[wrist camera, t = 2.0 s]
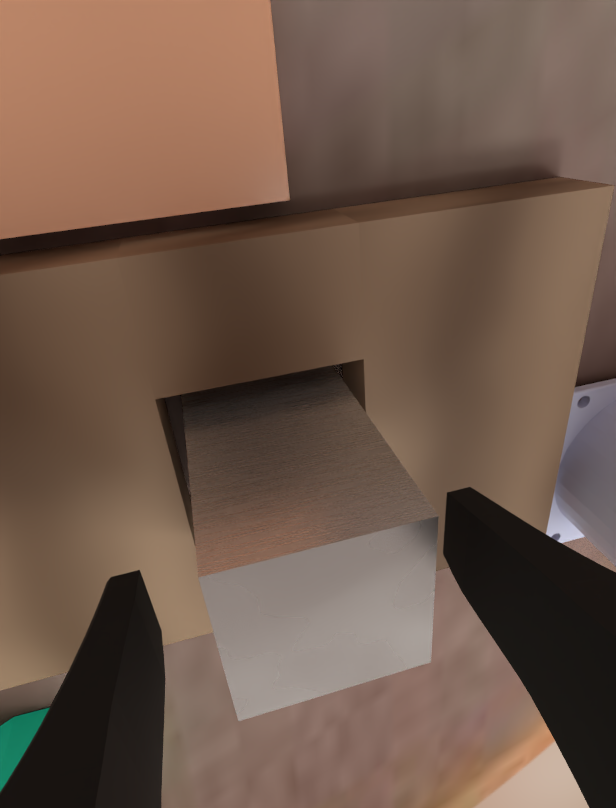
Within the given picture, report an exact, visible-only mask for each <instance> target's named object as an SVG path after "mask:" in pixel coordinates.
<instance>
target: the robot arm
mask: <svg viewBox="0 0 616 808" xmlns="http://www.w3.org/2000/svg"><path fill="white" fill-rule="evenodd" d="M580 399H581V400H580ZM579 400H580V401H579ZM578 401H579V402H578ZM582 537H586V538H587V539H588V540H589V541H590V542H591V543H592V544H593V545H594V546H595V547H596V548H597V549H598V550H599V551H600V552H601V553H602V554H603V555H604V556H605V557H606V558H608V559H609V560H610V561H611V562H612V563H613V564H614V565H615V566H616V378H615V379H610V380H606V381H601V382H597V383H592V384H587V385H583V386H578V387H575V389H574V394H573V399H572V404H571V409H570V414H569V419H568V425H567V430H566V435H565V440H564V445H563V450H562V455H561V460H560V465H559V470H558V475H557V481H556V486H555V491H554V496H553V501H552V506H551V511H550V516H549V521H548V526H547V531H546V534H545V533H543V532H541V531H540V530H538V529H536V528H535V527H533V526H531V525H530V524H528V523H527V522H525V521H523V520H522V519H520V518H519V517H517V516H516V515H514V514H512V513H511V512H509V511H508V510H506V509H504V508H503V507H501V506H500V505H498V504H497V503H495V502H494V501H492V500H490V499H489V498H487V497H486V496H484V495H483V494H481V493H479V492H478V491H476V490H475V489H473V488H471V487H467V488H463V489H459V490H455V491H451V492H447V496H446V512H445V528H444V544H443V555H444V557H445V559H446V561H447V563H448V565H449V567H450V569H451V571H452V573H453V575H454V577H455V579H456V581H457V583H458V585H459V587H460V589H461V591H462V592H463V594H464V596H465V597H466V599H467V600H468V602H469V603H470V605H471V606H472V608H473V609H474V611H475V612H476V614H477V615H478V617H479V618H480V620H481V621H482V623H483V624H484V626H485V627H486V629H487V630H488V632H489V633H490V635H491V636H492V638H493V639H494V641H495V642H496V644H497V645H498V646H499V648H500V649H501V651H502V652H503V654H504V655H505V657H506V658H507V660H508V661H509V663H510V664H511V666H512V667H513V669H514V670H515V672H516V673H517V675H518V676H519V678H520V679H521V681H522V683H523V684H524V686H525V687H526V689H527V691H528V692H529V694H530V696H531V697H532V699H533V701H534V703H535V705H536V707H537V708H538V710H539V712H540V714H541V716H542V717H543V719H544V721H545V723H546V725H547V727H548V728H549V730H550V732H551V734H552V736H553V737H554V739H555V741H556V743H557V745H558V747H559V749H560V751H561V753H562V755H563V757H564V758H565V760H566V762H567V764H568V766H569V768H570V770H571V772H572V774H573V776H574V778H575V779H576V782H577V783H578V785H579V788H580V790H581V792H582V794H583V796H584V798H585V800H586V802H587V804H588V806H589V808H616V573H615V572H613V571H611V570H609V569H607V568H605V567H604V566H602V565H600V564H598V563H596V562H594V561H592V560H590V559H589V558H587V557H585V556H583V555H581V554H579V553H578V552H576V551H574V550H572V549H570V548H569V547H567V546H565V545H563V544H562V543H564V542H567V541H571V540H574V539H578V538H582ZM164 702H165V668H164V653H163V641H162V630H161V628H160V625H159V622H158V619H157V616H156V614H155V611H154V608H153V605H152V603H151V600H150V597H149V594H148V591H147V589H146V586H145V583H144V580H143V577H142V575H141V572H140V570H137V571H133V572H129V573H125V574H121V575H117V576H113V577H110V579H109V580H108V581H107V583H106V585H105V588H104V591H103V593H102V596H101V599H100V601H99V604H98V606H97V609H96V611H95V614H94V616H93V618H92V621H91V623H90V625H89V628H88V630H87V632H86V635H85V637H84V639H83V641H82V643H81V646H80V648H79V650H78V652H77V654H76V656H75V658H74V660H73V663H72V665H71V667H70V669H69V671H68V673H67V675H66V677H65V679H64V681H63V683H62V685H61V687H60V689H59V691H58V693H57V695H56V697H55V698H54V700H53V702H52V704H51V706H50V708H49V710H48V712H47V714H46V716H45V717H44V719H43V721H42V723H41V725H40V727H39V728H38V730H37V732H36V734H35V735H34V737H33V739H32V741H31V742H30V744H29V746H28V748H27V749H26V751H25V753H24V754H23V756H22V758H21V759H20V761H19V763H18V764H17V766H16V768H15V769H14V771H13V772H12V774H11V776H10V777H9V779H8V781H7V782H6V784H5V785H4V787H3V789H2V790H1V792H0V808H161V786H162V759H163V731H164Z"/></svg>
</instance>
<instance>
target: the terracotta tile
mask: <svg viewBox="0 0 616 808" xmlns="http://www.w3.org/2000/svg"><path fill="white" fill-rule="evenodd" d="M287 200H290V196H289V186H288V176H287V166H286V156H285V146H284V135H283V125H282V115H281V105H280V95H279V85H278V75H277V65H276V55H275V44H274V34H273V24H272V14H271V4H270V0H0V239H5V238H13V237H20V236H28V235H35V234H42V233H50V232H57V231H65V230H72V229H79V228H87V227H94V226H102V225H109V224H117V223H124V222H131V221H139V220H146V219H154V218H161V217H168V216H176V215H183V214H191V213H198V212H205V211H213V210H220V209H228V208H235V207H243V206H250V205H257V204H265V203H272V202H280V201H287Z"/></svg>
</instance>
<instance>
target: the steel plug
mask: <svg viewBox="0 0 616 808" xmlns="http://www.w3.org/2000/svg"><path fill="white" fill-rule="evenodd" d="M181 395H182V406H183V417H184V428H185V439H186V450H187V461H188V472H189V483H190V494H191V504H192V515H193V526H194V537H195V548H196V559H197V570H198V579H199V582H200V586H201V589H202V593H203V597H204V600H205V604H206V607H207V611H208V614H209V618H210V621H211V625H212V629H213V632H214V636H215V639H216V643H217V646H218V650H219V654H220V657H221V661H222V664H223V668H224V671H225V675H226V679H227V682H228V686H229V689H230V693H231V696H232V700H233V704H234V707H235V711H236V714H237V718H238V721H241V720H244V719H248V718H251V717H254V716H257V715H261V714H264V713H267V712H270V711H274V710H277V709H280V708H283V707H287V706H290V705H293V704H296V703H300V702H303V701H306V700H309V699H313V698H316V697H319V696H322V695H326V694H329V693H332V692H335V691H339V690H342V689H345V688H348V687H352V686H355V685H358V684H361V683H365V682H368V681H371V680H374V679H378V678H381V677H384V676H387V675H391V674H394V673H397V672H400V671H404V670H407V669H410V668H413V667H417V666H420V665H423V664H426V663H430V662H431V650H432V631H433V612H434V594H435V575H436V556H437V537H438V518H439V516H438V514H437V513H436V512H435V510H434V509H433V507H432V506H431V505H430V503H429V502H428V500H427V499H426V497H425V496H424V495H423V493H422V492H421V490H420V489H419V487H418V486H417V485H416V483H415V482H414V480H413V479H412V478H411V476H410V475H409V473H408V472H407V470H406V469H405V468H404V466H403V465H402V463H401V462H400V461H399V459H398V458H397V456H396V455H395V453H394V452H393V451H392V449H391V448H390V446H389V445H388V443H387V442H386V441H385V439H384V438H383V436H382V435H381V434H380V432H379V431H378V429H377V428H376V426H375V425H374V424H373V422H372V421H371V419H370V418H369V416H368V415H367V414H366V412H365V411H364V409H363V408H362V407H361V405H360V404H359V402H358V401H357V399H356V398H355V397H354V395H353V394H352V392H351V391H350V389H349V388H348V387H347V385H346V384H345V382H344V381H343V380H342V378H341V377H340V375H339V374H338V372H337V371H336V370H335V368H334V367H333V365H331V366H325V367H320V368H315V369H310V370H305V371H300V372H294V373H289V374H284V375H279V376H274V377H269V378H263V379H258V380H253V381H248V382H243V383H238V384H233V385H227V386H222V387H217V388H212V389H207V390H202V391H196V392H191V393H186V394H181Z"/></svg>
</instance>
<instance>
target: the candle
mask: <svg viewBox="0 0 616 808" xmlns="http://www.w3.org/2000/svg"><path fill="white" fill-rule="evenodd" d="M48 710H49V708H46V709H42V710H38V711H34V712H30V713H27V714H23V715H19V716H15V717H13V718H11V719H10V720H8V721H7V722H5V723H4V724H3V725H1V726H0V792H1V790H2V789H3V787H4V785H5V784H6V782H7V781H8V779H9V777H10V776H11V774H12V772H13V771H14V769H15V768H16V766H17V764H18V763H19V761H20V759H21V758H22V756H23V754H24V753H25V751H26V749H27V748H28V746H29V744H30V742H31V741H32V739H33V737H34V735H35V734H36V732H37V730H38V728H39V727H40V725H41V723H42V721H43V719H44V717H45V716H46V714H47V712H48Z"/></svg>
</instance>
